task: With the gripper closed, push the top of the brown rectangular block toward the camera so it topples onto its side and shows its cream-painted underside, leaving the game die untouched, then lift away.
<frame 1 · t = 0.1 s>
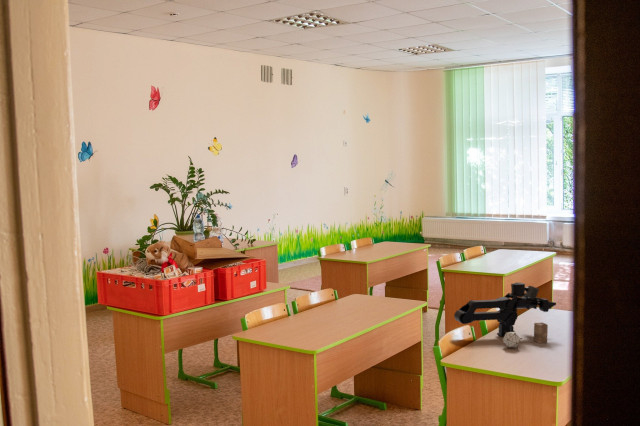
hand: (550, 301, 306), 17 cm above the table, tool horizontal, fingers open, 9 cm apart
brown rectangular block: (540, 341, 290), on the table
game die: (511, 348, 279), on the table
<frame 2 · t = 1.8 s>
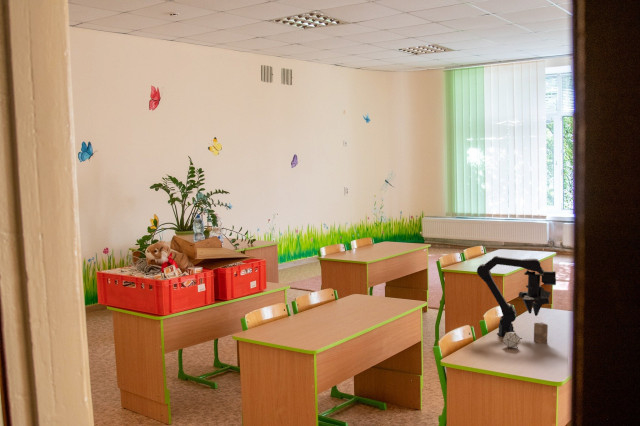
hand: (533, 314, 296), 12 cm above the table, tool pointing down, fingers open, 5 cm apart
nothing on the table moved.
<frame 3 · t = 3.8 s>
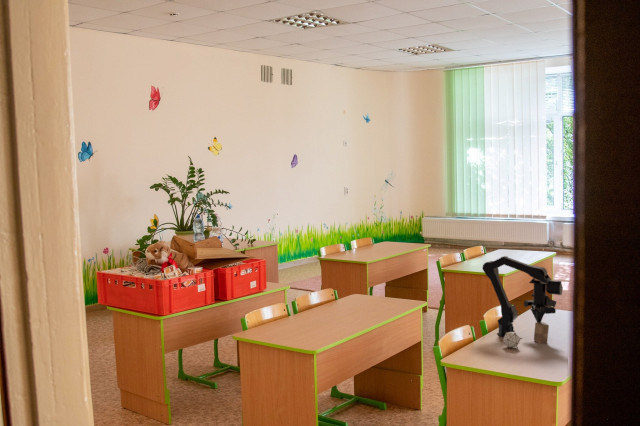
hand: (538, 323, 291), 8 cm above the table, tool pointing down, fingers closed
brown rectangular block: (540, 341, 290), on the table, tilted 6°, touching gripper
everything else where it was.
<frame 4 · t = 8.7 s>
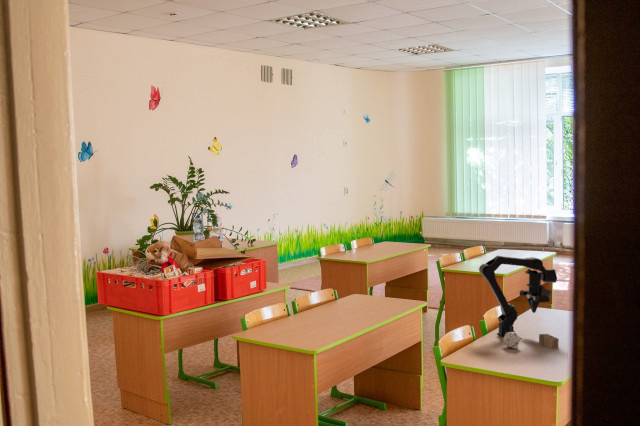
hand: (533, 312, 301), 12 cm above the table, tool pointing down, fingers closed
brown rectangular block: (543, 338, 288), point 2 cm above the table, tilted 90°
everything else where it was.
at the end: brown rectangular block tilted 90°; brown rectangular block inside the target area (4.4 cm from its centre), point 2.1 cm above the table; game die moved 0.2 cm from its start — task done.
